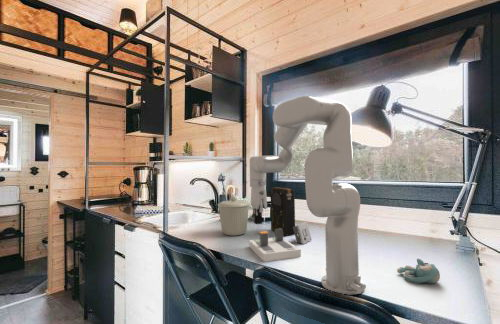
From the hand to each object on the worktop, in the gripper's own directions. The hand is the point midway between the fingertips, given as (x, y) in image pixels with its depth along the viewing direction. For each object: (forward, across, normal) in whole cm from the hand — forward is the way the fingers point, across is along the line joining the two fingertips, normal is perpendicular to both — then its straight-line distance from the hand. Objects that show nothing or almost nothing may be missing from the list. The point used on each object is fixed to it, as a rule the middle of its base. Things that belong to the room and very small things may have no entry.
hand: (258, 223), depth 119 cm
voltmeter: (+12, +21, -22) cm, 33 cm away
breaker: (+8, -3, -9) cm, 12 cm away
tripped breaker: (+8, -7, 0) cm, 10 cm away
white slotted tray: (+11, -7, -5) cm, 14 cm away
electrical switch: (+12, +2, -24) cm, 26 cm away
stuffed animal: (+10, -48, -39) cm, 62 cm away
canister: (+12, +29, +4) cm, 32 cm away
